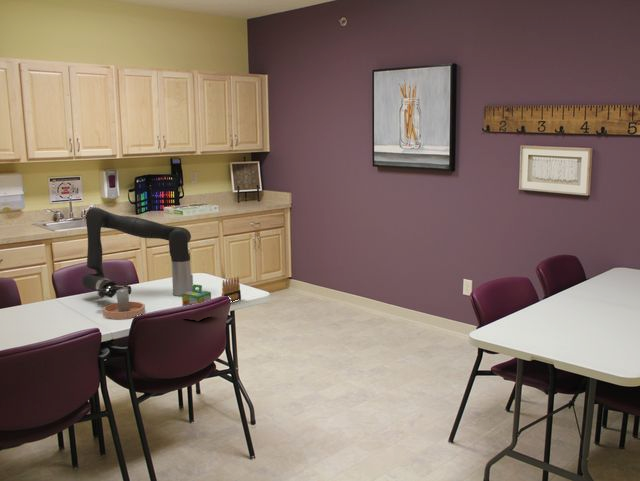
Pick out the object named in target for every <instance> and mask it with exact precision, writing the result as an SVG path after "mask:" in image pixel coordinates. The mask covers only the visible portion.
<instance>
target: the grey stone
mask: <svg viewBox="0 0 640 481" xmlns="http://www.w3.org/2000/svg"><path fill="white" fill-rule="evenodd" d="M116 293H117V294H116V300H117V302H116V303H118V312H128V311H130V305H129V302H130V294H128V289H119V290H117V291H116Z"/></svg>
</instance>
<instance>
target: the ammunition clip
mask: <svg viewBox="0 0 640 481" xmlns="http://www.w3.org/2000/svg"><path fill="white" fill-rule="evenodd" d="M221 286H222V288H221V291H222V292H221V297H222V296H229V297H230V298H231V301H232V302H233V301H235V300H238V299H241V300H242V293H241V284H240V278H239V275H238V276H235V277H234V278H233V277H231V279H230V278H228V279H227V278H226V279H223V280H222V285H221ZM233 303H234V302H233Z"/></svg>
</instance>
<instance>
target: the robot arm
mask: <svg viewBox="0 0 640 481" xmlns="http://www.w3.org/2000/svg"><path fill="white" fill-rule="evenodd" d="M85 222H86V223H85V224H86V230H87V255H86V256H87V258H86V268H88V269H89V270H94V272H95V273H85V274H84V275H83V276H82V279H81V284H82V286H83V287H84V288H85V289H88V290H93V291H97V293H96V294H97V296H99V297H100V298H104V297H106V298H107V297H108V298H110V299H111V298H113V297H114V296H115V295H117V293H116V291H117V290H119V289H128V295H131V294H132V286H131V285H127V284H123V285H118V283H117V282H115V281H114V280H112V279H109V278H105V274H104V269H103V268H104V267H103V246H102V239H101V238H102V237H101V232H102V231H101V230H102V228H103V229H111V230H116V231H119V232H122V233H124V234H126V235H129V236H133V237H136V238H143V239H160V240H163V241H164V240H165V241H168V246H169V256H170V260H171V264H170V265H171V276H172V277H171V279H172V280H171V281H172V282H171V283H172V295H173V296H178V297H182V294H183V293H186V292H189V291H192V290H193V285H194V277H193V274H192V272H191V271H192V270H191V254H190V253H189V245H188V244H189V243H190V241H191V239H192V234H191V232H190V231H189V230H188V229H187V228H185V227H181V226H173V225H166V224H163V223H160V222H156V221H153V220H148V219H145V218H141V217H138V216H136V217H135V216H128V215H119V214H115V213H111V212H110V211H107V210H105V209H102V208H100V207H91V208H89V209H88V210H86V213H85Z"/></svg>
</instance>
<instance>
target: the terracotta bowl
mask: <svg viewBox="0 0 640 481" xmlns="http://www.w3.org/2000/svg"><path fill="white" fill-rule="evenodd" d="M129 305H130V311H128V312H118V303H117V302H114V303H110V304H108V305H105V306H104V307H103V309H102V317H104V316H105V317H104V318H106V319H108V318H112V319H111V320H128V318H129V319H133V318H132V317H134V318H136V317H135V316H137V315H140V314H142V315H144V314H145V313H144V312H146V305H145V303H143V302H140V301H129ZM140 316H141V315H140Z"/></svg>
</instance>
